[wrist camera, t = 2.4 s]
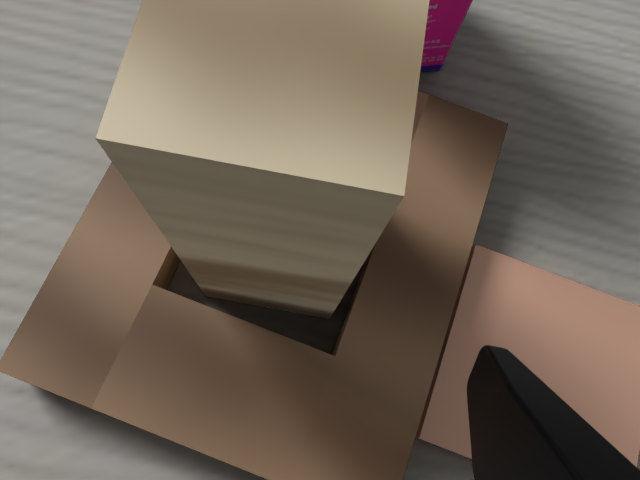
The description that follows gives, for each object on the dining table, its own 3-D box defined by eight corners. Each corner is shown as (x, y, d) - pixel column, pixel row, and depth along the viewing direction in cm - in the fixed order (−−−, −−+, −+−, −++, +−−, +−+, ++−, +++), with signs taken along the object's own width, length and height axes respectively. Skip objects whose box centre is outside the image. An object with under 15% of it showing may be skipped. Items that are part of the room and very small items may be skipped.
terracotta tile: (617, 517, 19) (627, 520, 19) (415, 437, 20) (419, 438, 19) (651, 316, 22) (661, 314, 21) (470, 248, 22) (476, 244, 21)
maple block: (329, 318, 21) (404, 196, 8) (205, 296, 21) (95, 137, 8) (348, 203, 22) (435, -45, 10) (233, 182, 22) (174, -96, 10)
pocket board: (377, 515, 19) (388, 528, 17) (23, 372, 19) (-6, 369, 17) (489, 146, 24) (508, 123, 22) (204, 40, 24) (197, 9, 22)
